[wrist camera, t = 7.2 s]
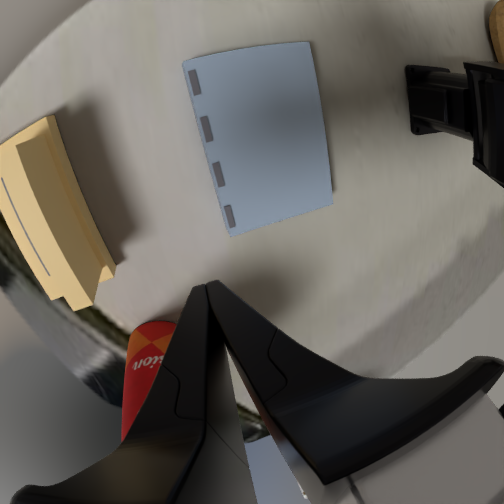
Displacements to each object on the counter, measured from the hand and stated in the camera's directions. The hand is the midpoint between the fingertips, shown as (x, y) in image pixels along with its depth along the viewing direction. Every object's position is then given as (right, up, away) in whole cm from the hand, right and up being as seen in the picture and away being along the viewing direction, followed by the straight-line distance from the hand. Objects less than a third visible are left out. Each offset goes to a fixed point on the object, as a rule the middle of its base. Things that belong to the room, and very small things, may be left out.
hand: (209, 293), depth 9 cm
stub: (-13, +4, +7) cm, 15 cm away
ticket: (+2, +9, +9) cm, 13 cm away
